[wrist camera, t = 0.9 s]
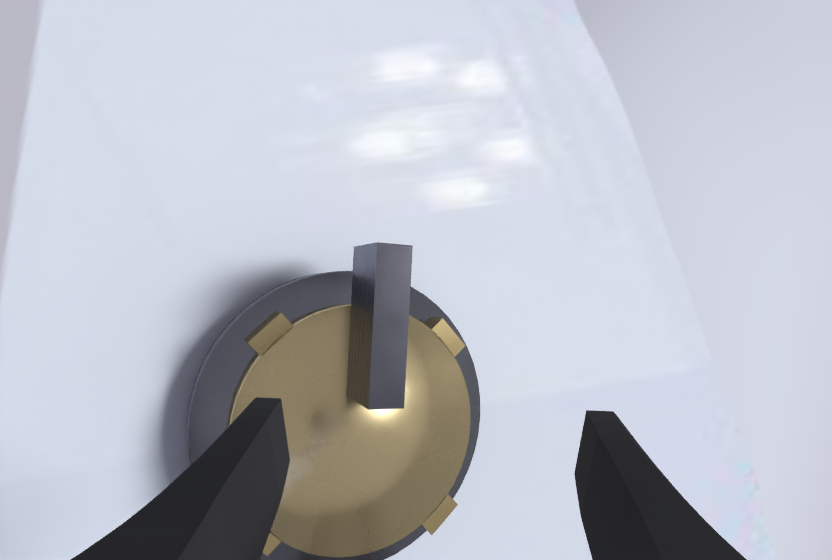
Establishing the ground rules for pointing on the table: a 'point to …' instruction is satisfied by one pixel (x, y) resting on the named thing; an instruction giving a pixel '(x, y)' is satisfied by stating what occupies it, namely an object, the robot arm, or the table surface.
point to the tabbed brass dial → (362, 413)
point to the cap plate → (235, 354)
